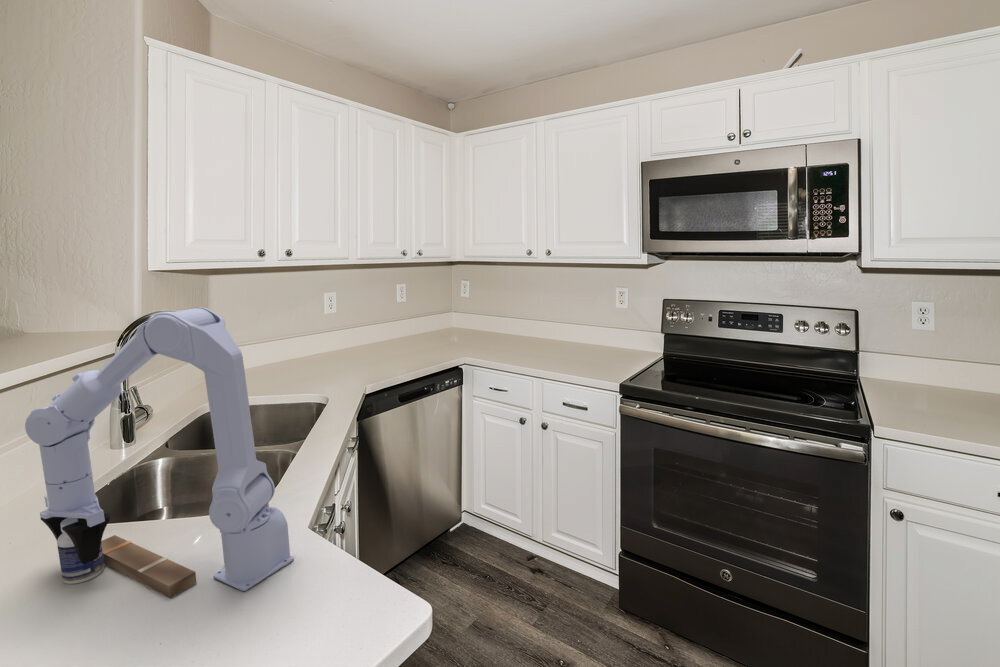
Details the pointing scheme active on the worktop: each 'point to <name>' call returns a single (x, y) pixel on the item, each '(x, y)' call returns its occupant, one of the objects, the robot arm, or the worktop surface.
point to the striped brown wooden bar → (147, 567)
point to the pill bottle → (76, 559)
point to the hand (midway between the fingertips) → (80, 555)
